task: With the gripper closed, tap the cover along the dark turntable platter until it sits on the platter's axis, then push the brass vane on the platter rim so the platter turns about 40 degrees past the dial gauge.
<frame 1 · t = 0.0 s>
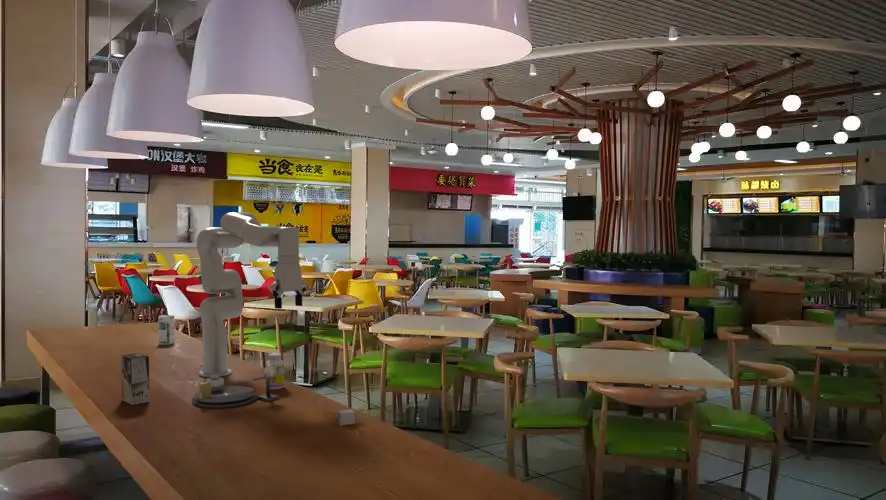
hand: (288, 307, 252), 31 cm above the table, tool pointing down, fingers open, 9 cm apart
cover: (214, 390, 244), point 2 cm above the table, touching platter
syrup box: (166, 344, 348), on the table
turntable base: (225, 399, 241), on the table
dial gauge: (268, 399, 242), on the table
supplement bottle: (274, 388, 258), on the table
platter: (225, 387, 240), point 4 cm above the table, hinge at 0.0°, touching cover
coffee box: (135, 401, 238), on the table
usb wall charger: (350, 423, 214), on the table
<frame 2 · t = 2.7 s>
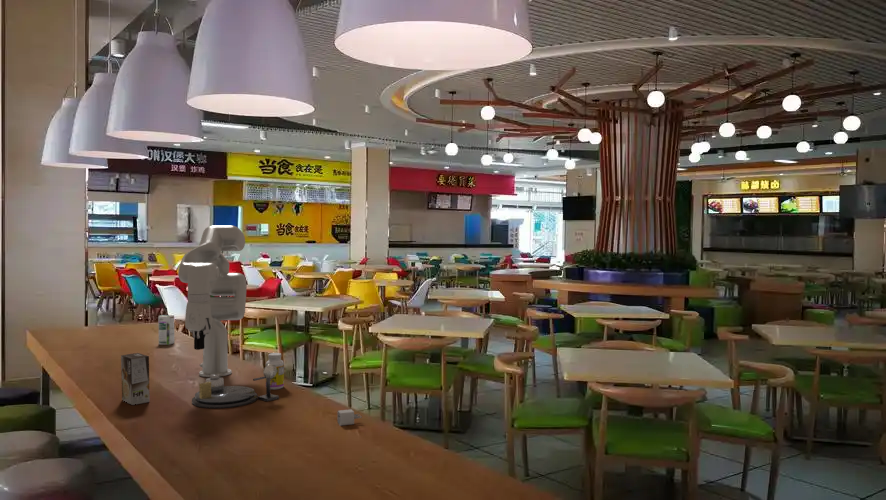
hand: (199, 349, 249), 16 cm above the table, tool pointing down, fingers closed
nothing on the table moved.
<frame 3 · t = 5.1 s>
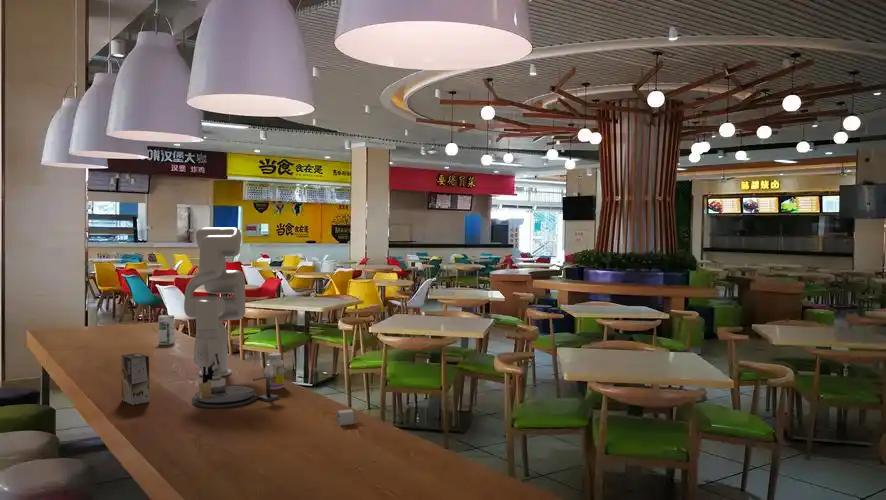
hand: (207, 384, 246), 4 cm above the table, tool pointing down, fingers closed
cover: (216, 390, 244), point 2 cm above the table, touching gripper, platter
everything else where it was.
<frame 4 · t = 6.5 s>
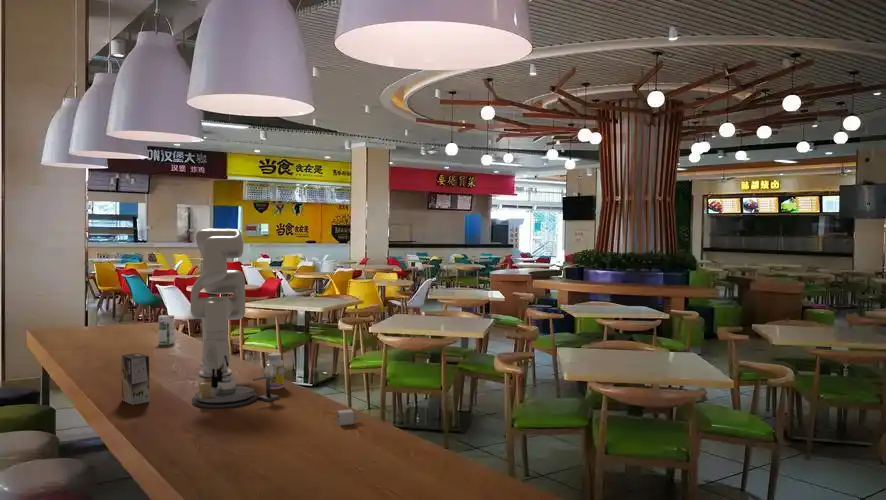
hand: (216, 386, 243), 4 cm above the table, tool pointing down, fingers closed
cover: (226, 392, 241), point 2 cm above the table, touching gripper, platter
everything else where it was.
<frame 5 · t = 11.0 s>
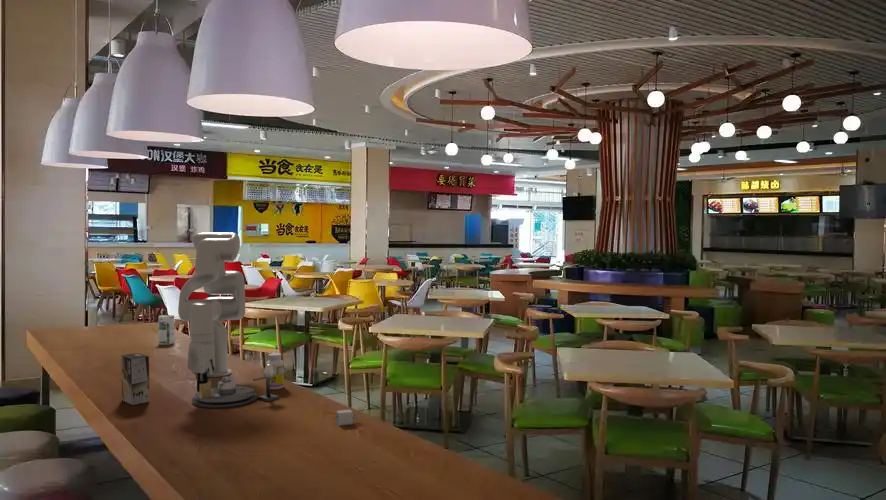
hand: (202, 391, 237), 4 cm above the table, tool pointing down, fingers closed
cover: (227, 392, 241), point 2 cm above the table, touching platter
platter: (225, 387, 240), point 4 cm above the table, hinge at 0.0°, touching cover, gripper
everything else where it was.
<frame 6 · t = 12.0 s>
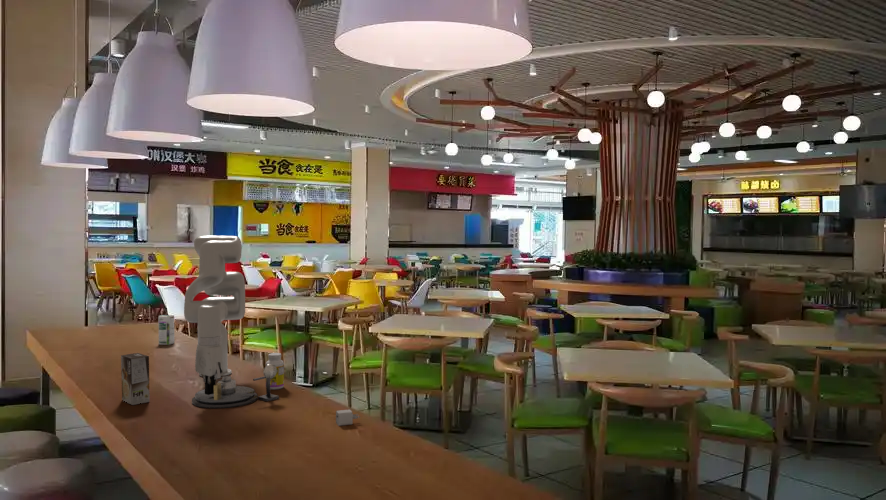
hand: (210, 393, 235), 4 cm above the table, tool pointing down, fingers closed
platter: (225, 387, 240), point 4 cm above the table, hinge at 36.1°, touching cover, gripper
everything else where it was.
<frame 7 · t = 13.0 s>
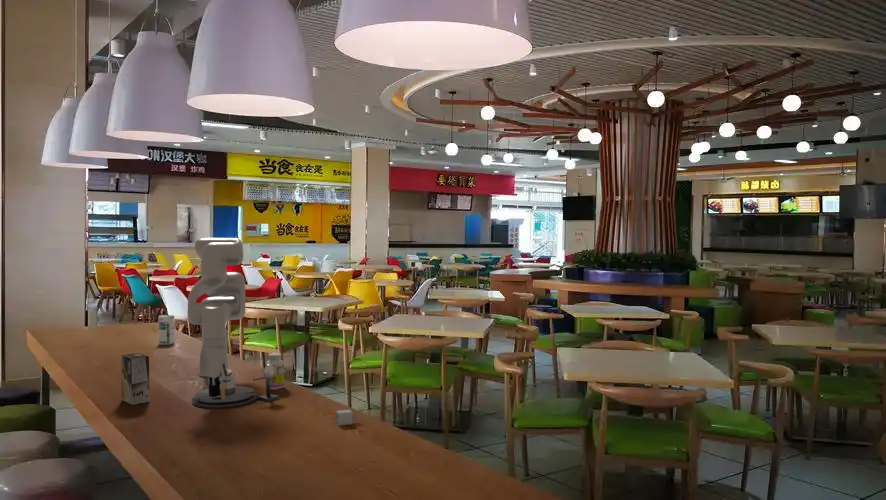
hand: (214, 395, 233), 3 cm above the table, tool pointing down, fingers closed
platter: (225, 387, 240), point 4 cm above the table, hinge at 50.3°, touching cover, gripper
everything else where it was.
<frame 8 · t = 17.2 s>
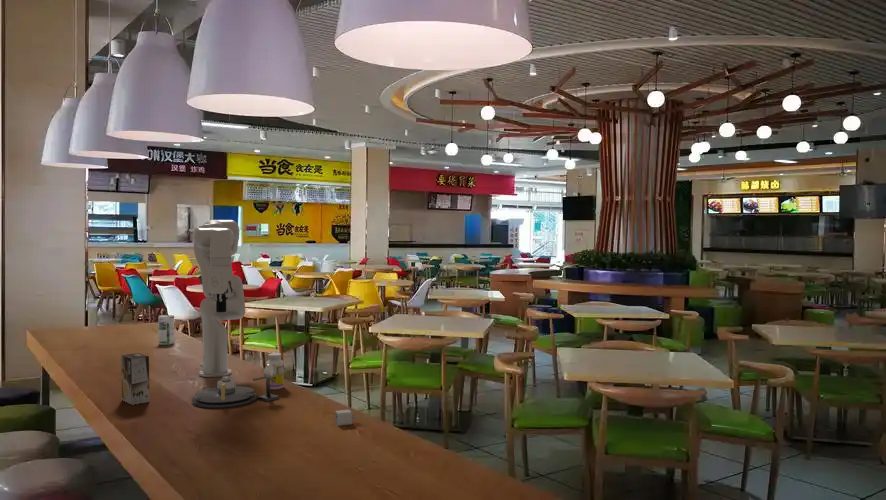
hand: (221, 311, 254), 29 cm above the table, tool pointing down, fingers closed
platter: (225, 387, 240), point 4 cm above the table, hinge at 50.5°, touching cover
everything else where it was.
at the end: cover 0.6 cm from the platter (horizontally); platter at +50° (first picture: +0°); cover tilted 0° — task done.
